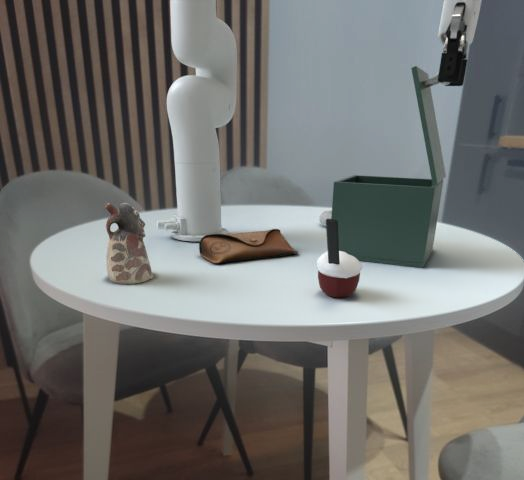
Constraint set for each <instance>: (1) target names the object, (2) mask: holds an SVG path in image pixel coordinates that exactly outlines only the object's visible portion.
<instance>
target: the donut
mask: <svg viewBox="0 0 524 480" xmlns="http://www.w3.org/2000/svg"><path fill="white" fill-rule="evenodd" d="M331 216H332V209H331V210H326V211H323V212H322V213H321V214H320V215H319V217H318V218H319V223H320V224H321V225H322V226H323V227H325V228H326V219H331Z"/></svg>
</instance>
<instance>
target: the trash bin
mask: <svg viewBox="0 0 524 480" xmlns="http://www.w3.org/2000/svg"><path fill="white" fill-rule="evenodd" d="M443 185H444V179H443V180H442V181H441V182H440V183H438V184H437V185H433V184H432V178H417V177H399V176H397V177H396V176H381V175H380V176H378V175H377V176H376V175H358V174H353V175H350V176H347V177H344V178H341V179H339V180H336V181H333V190H332V201H331V210H332V216H331V219H334V220H337V221H338V237H339V251H343V252H346V253H347V254H349V255H352V256H354V257H355V258H357V259H358V261H359V262H368V263H378V264H384V265H385V264H386V265H394V266H404V267H413V268H419V269H420V268H421V269H422V268H424V266H425V264H426V263H427V262H428V259H429V258H430V256H431V254H432V253H433V249H434V242H435V236H436V231H437V224H438V219H439V211H440V205H441V198H442V194H443V193H442V191H443Z"/></svg>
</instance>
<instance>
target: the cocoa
mask: <svg viewBox="0 0 524 480" xmlns="http://www.w3.org/2000/svg"><path fill="white" fill-rule="evenodd" d="M325 228H326V229H325V230H326V232H325V233H326V248H327V250H326V251H325V252H323V253H322V254H321V255H320V256H319V257H318V258H317V260H316V266H315V267H316V269H317V279H318V284H319V288H320V290H321V291H322V292H323V293H324V294H325V295H327V296H328V297H331V298H337V299H339V298H340V299H343V298H347V297H349V296H350V295H352V294H354V292H356V290H357V288H358V285H359V282H360V278H361V272H362V270H363V265H362V263H361V261H359V260H358V259H357V258H355V257H354V256H352V255H349V254H347V253H346V252H343V251H339V237H338V221H337V220H334V219H326V227H325Z"/></svg>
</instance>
